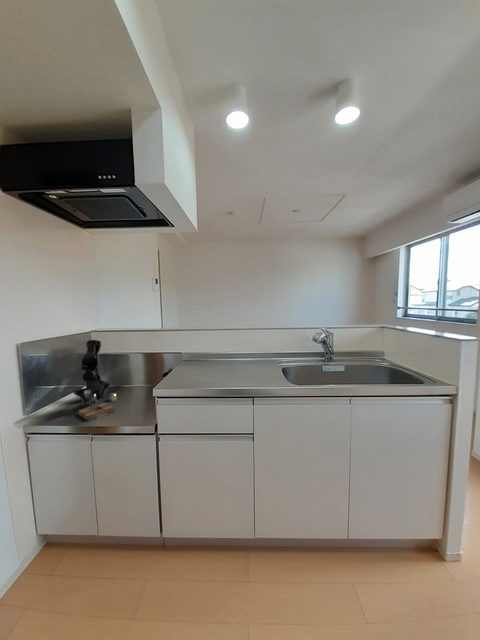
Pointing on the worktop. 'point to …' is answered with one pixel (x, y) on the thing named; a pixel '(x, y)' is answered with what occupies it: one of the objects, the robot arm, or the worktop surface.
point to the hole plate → (96, 411)
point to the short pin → (113, 397)
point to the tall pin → (92, 399)
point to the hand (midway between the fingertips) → (93, 401)
